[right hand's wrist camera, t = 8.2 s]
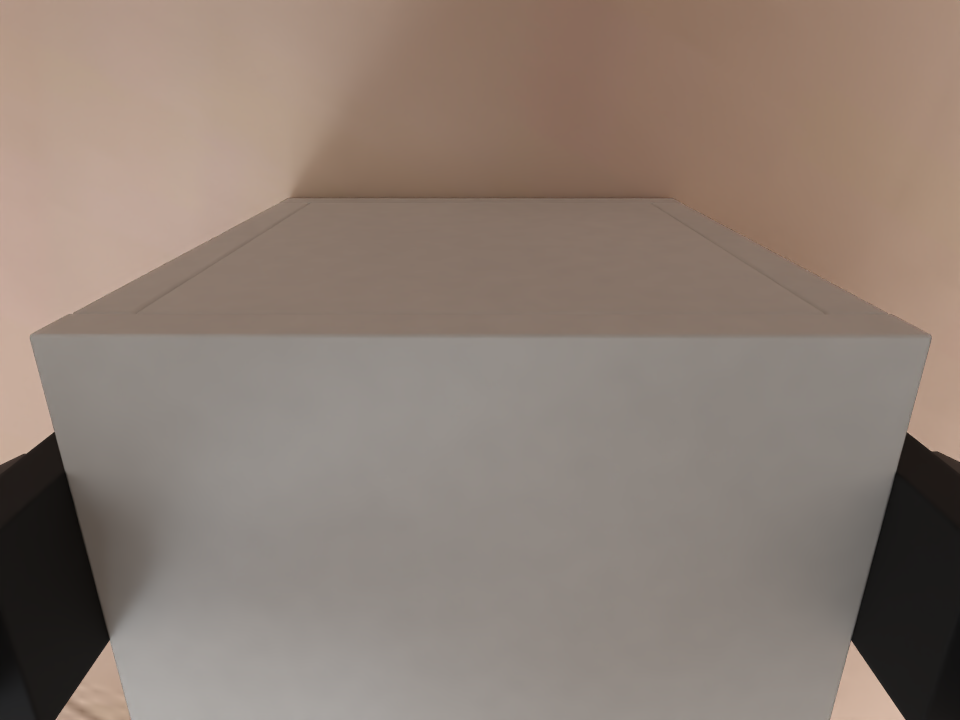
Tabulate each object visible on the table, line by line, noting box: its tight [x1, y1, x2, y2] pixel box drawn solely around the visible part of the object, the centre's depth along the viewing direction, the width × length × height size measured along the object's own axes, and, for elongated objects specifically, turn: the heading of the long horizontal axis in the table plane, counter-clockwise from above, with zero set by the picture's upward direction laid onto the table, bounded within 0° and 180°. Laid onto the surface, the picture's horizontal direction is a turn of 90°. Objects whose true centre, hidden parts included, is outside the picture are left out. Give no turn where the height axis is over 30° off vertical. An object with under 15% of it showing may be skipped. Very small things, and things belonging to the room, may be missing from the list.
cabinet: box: [30, 198, 932, 720], centre depth 17 cm, size 21×10×11 cm, turn 0°
